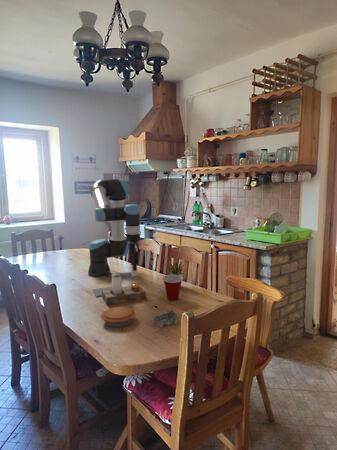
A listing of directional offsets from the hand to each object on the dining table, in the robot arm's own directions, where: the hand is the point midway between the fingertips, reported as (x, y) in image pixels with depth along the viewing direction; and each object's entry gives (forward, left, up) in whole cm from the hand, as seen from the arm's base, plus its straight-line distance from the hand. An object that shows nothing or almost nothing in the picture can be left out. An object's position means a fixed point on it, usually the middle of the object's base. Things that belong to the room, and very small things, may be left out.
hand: (134, 275), depth 174 cm
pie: (+28, -16, -12) cm, 34 cm away
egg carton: (+38, +3, -12) cm, 40 cm away
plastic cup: (+14, +17, -12) cm, 25 cm away
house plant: (-3, +28, -12) cm, 31 cm away
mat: (-13, -14, -12) cm, 23 cm away
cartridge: (+1, -10, -12) cm, 15 cm away
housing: (+1, -7, -12) cm, 13 cm away
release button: (+1, 0, -10) cm, 10 cm away
